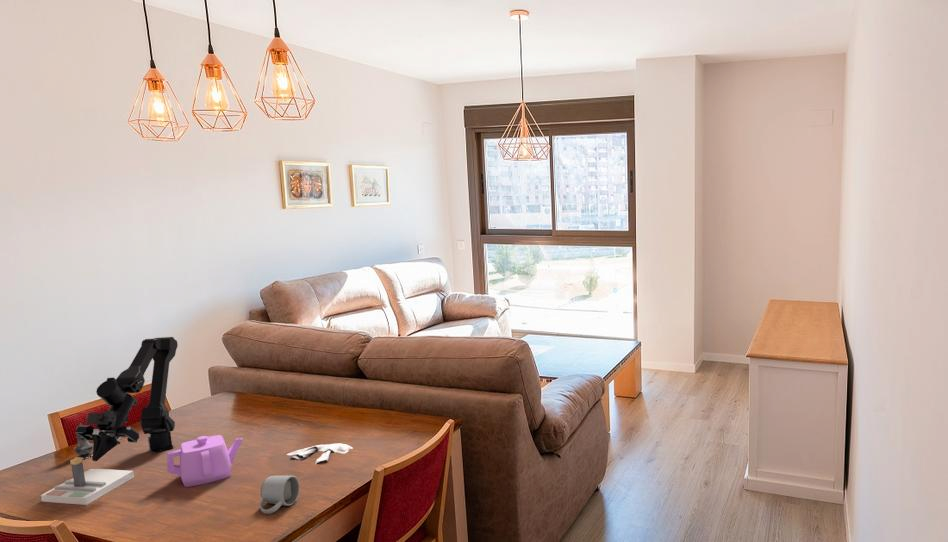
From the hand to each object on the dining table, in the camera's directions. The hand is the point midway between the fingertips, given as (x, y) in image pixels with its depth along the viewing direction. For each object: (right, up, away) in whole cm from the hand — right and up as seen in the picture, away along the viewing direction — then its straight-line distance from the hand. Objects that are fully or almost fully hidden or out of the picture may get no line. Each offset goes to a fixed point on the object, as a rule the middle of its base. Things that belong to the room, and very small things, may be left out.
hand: (94, 460), depth 191 cm
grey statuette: (-21, -8, +30) cm, 37 cm away
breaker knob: (-4, -8, +1) cm, 9 cm away
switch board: (-4, -10, +4) cm, 11 cm away
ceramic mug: (+59, -8, -15) cm, 61 cm away
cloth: (+61, -4, +18) cm, 64 cm away
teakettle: (+30, -7, +9) cm, 32 cm away
